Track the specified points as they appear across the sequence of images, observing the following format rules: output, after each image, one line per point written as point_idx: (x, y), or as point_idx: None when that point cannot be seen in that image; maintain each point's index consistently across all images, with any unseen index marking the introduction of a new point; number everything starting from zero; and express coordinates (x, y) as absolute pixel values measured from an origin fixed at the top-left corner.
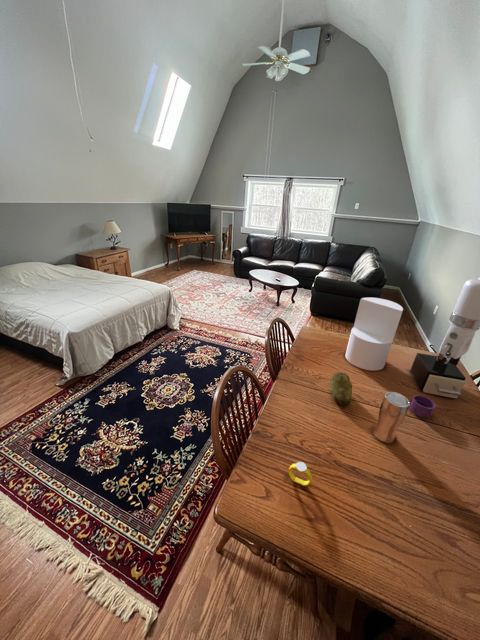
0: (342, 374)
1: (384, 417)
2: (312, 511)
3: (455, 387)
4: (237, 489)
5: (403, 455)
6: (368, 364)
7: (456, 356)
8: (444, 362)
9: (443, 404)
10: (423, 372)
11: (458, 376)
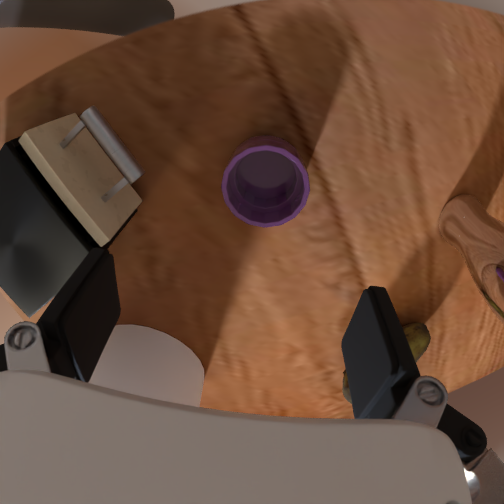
0: None
1: None
2: None
3: (61, 140)
4: None
5: (492, 161)
6: (186, 365)
7: (456, 463)
8: (439, 401)
9: (140, 127)
10: None
11: (18, 166)
